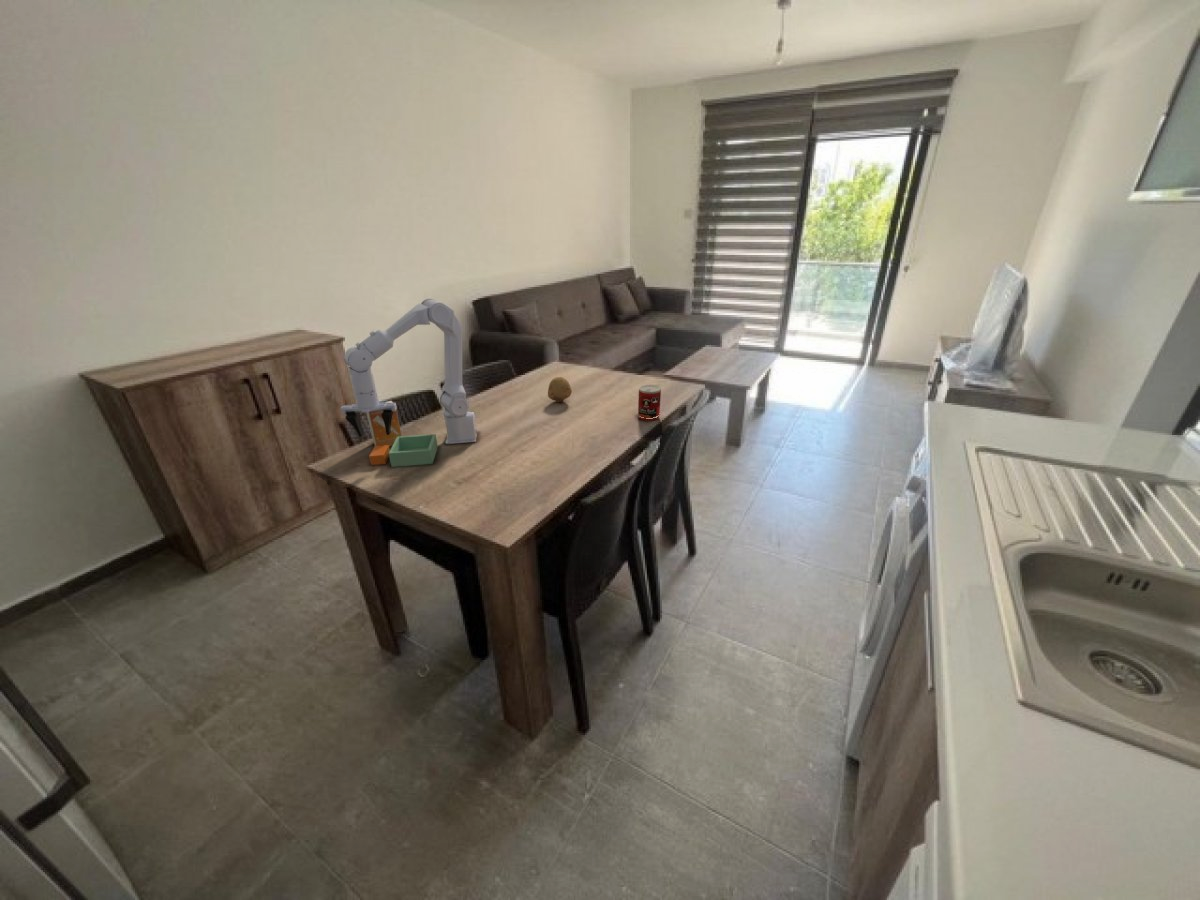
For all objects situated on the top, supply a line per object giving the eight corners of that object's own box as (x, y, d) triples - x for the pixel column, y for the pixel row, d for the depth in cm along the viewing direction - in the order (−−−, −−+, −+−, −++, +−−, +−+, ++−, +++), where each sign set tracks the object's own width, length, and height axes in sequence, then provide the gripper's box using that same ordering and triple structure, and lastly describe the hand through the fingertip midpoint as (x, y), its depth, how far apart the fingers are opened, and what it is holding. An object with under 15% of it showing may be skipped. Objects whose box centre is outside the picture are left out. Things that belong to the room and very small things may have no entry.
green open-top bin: (437, 446, 152) (435, 434, 150) (432, 463, 142) (430, 450, 140) (399, 449, 150) (396, 436, 148) (391, 467, 140) (388, 453, 138)
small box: (377, 450, 150) (368, 411, 144) (373, 443, 154) (364, 405, 149) (404, 444, 154) (396, 406, 148) (399, 437, 158) (391, 400, 153)
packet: (390, 453, 148) (388, 444, 146) (385, 464, 142) (383, 455, 140) (377, 454, 147) (375, 445, 146) (371, 465, 141) (368, 456, 140)
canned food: (635, 419, 171) (636, 390, 166) (641, 411, 178) (642, 383, 173) (655, 422, 168) (657, 393, 164) (661, 414, 175) (663, 386, 170)
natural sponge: (576, 400, 188) (576, 376, 184) (563, 407, 182) (562, 382, 177) (558, 396, 193) (557, 372, 188) (544, 403, 186) (543, 378, 182)
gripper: (332, 397, 130) (344, 442, 136) (388, 393, 132) (398, 438, 138) (341, 388, 136) (352, 432, 142) (394, 385, 138) (403, 428, 144)
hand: (375, 434), depth 141 cm, fingers open, 7 cm apart
